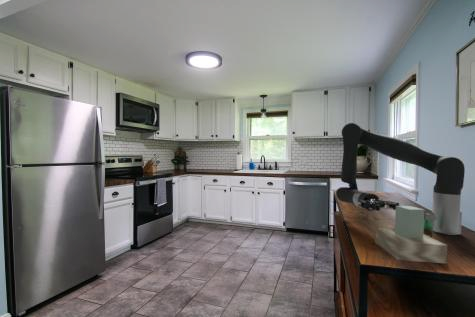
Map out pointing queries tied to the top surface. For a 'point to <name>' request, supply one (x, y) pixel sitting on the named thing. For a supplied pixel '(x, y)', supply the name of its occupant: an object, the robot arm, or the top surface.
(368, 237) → the top surface
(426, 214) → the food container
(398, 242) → the birch block
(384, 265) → the top surface
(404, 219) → the sage block
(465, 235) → the top surface
